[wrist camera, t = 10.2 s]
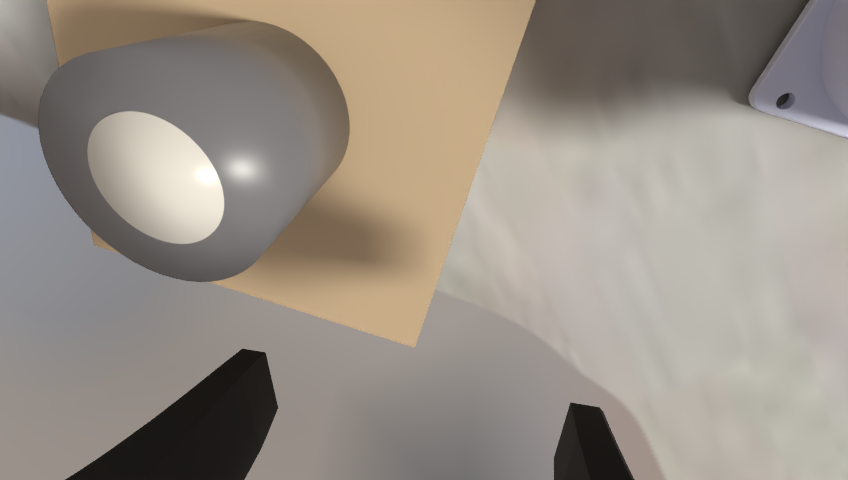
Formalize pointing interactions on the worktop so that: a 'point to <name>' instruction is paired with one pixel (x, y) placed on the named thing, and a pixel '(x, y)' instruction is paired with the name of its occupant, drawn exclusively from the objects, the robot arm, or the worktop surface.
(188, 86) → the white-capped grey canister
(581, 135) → the worktop surface
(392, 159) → the lid
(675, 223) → the worktop surface
